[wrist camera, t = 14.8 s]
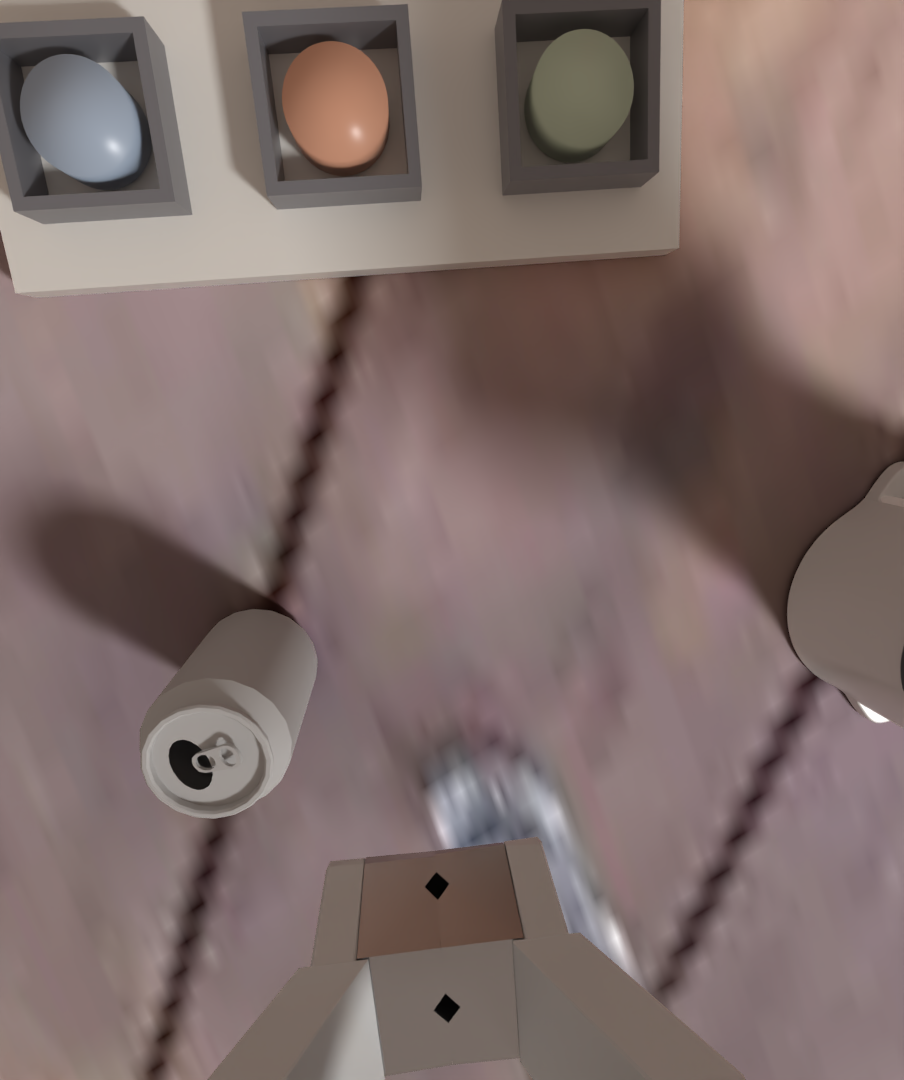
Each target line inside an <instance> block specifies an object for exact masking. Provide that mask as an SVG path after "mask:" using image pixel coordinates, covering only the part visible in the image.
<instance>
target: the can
mask: <svg viewBox="0 0 904 1080" xmlns="http://www.w3.org/2000/svg"><path fill="white" fill-rule="evenodd" d="M317 661H318V659H317V656H316V652H315V648H314V644H313V642H312V641H311V639H310V638H309V636H308V635H307V633H306V632H305V630H304V629H303V628H302V627H300V626H299V625H298V624H297V623H295V622H294V621H293V620H292V619H290V618H289V617H286V616H284V615H281V614H279V613H276V612H274V611H270V610H259V609H250V610H245V611H240V612H235V613H233V614H231V615H230V616H228V617H226V618H224V619H222V620H220V621H219V622H218V623H217V624H216V625H215V626H214V627H213V628H212V630H211V631H210V632H209V633H208V634H207V635H206V636H205V638H204V639H203V640H202V642H201V643H200V644H199V645H198V647H197V648H196V649H195V651H194V652H193V653H192V654H191V656H190V657H189V658H188V659H187V661H186V662H185V663H184V665H183V666H182V667H181V668H180V670H179V671H178V672H177V674H176V675H175V676H174V677H173V679H172V680H171V681H170V682H169V684H168V685H167V686H166V688H165V689H164V690H163V691H162V693H161V694H160V695H159V697H158V698H157V699H156V700H155V702H154V703H153V704H152V706H151V707H150V708H149V709H148V711H147V713H146V716H145V718H144V721H143V723H142V726H141V728H140V753H141V770H142V773H143V775H144V778H145V781H146V784H147V785H148V787H149V788H150V789H151V790H152V792H153V793H154V794H155V795H156V797H157V798H158V799H159V800H160V801H162V802H163V803H165V804H166V805H168V806H169V807H171V808H172V809H174V810H175V811H178V812H181V813H184V814H187V815H190V816H193V817H200V818H220V817H225V816H230V815H235V814H237V813H239V812H241V811H242V810H244V809H246V808H248V807H250V806H252V805H253V804H254V803H255V802H256V801H257V800H258V799H260V798H262V797H264V796H266V795H267V794H268V793H269V792H270V791H271V790H272V789H273V788H274V787H275V786H276V785H277V784H278V783H279V782H280V781H281V780H282V778H283V776H284V774H285V772H286V770H287V767H288V765H289V763H290V761H291V757H292V754H293V751H294V747H295V744H296V741H297V738H298V734H299V731H300V728H301V724H302V721H303V718H304V715H305V711H306V708H307V705H308V701H309V698H310V695H311V692H312V688H313V685H314V682H315V678H316V673H317Z"/></svg>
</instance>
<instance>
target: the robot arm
mask: <svg viewBox="0 0 904 1080" xmlns="http://www.w3.org/2000/svg"><path fill="white" fill-rule="evenodd" d="M787 622H788V629H789V634H790V638H791V641H792V644H793V646H794V649H795V651H796V653H797V654H798V656H799V658H800V659H801V661H802V662H803V663H804V665H805V666H806V667H807V668H808V669H809V670H810V671H811V672H812V673H813V674H815V675H816V676H817V677H819V678H820V679H822V680H823V681H825V682H827V683H829V684H831V685H833V686H835V687H837V688H838V689H840V690H841V691H842V692H843V693H845V695H846V696H847V698H848V700H849V701H850V703H851V704H852V706H853V707H854V708H855V710H856V711H857V712H858V713H859V714H860V715H861V716H863V717H865V718H867V719H868V720H870V721H872V722H874V723H884V722H888V721H891V722H893V723H895V724H897V725H898V726H900V727H902V728H904V462H897V463H894V464H892V465H891V466H889V467H888V468H887V469H886V470H885V471H884V472H883V473H882V474H881V476H880V477H879V478H878V479H877V481H876V482H875V484H874V485H873V486H872V488H871V489H870V491H869V492H868V494H867V495H866V497H865V498H864V499H863V500H862V501H861V502H860V503H859V504H858V505H857V506H855V507H854V508H853V509H852V510H850V511H849V512H847V513H846V514H845V515H843V516H842V517H840V518H839V519H838V520H836V521H835V522H834V523H833V524H832V525H830V526H829V527H828V528H827V529H826V530H825V531H824V532H823V533H822V534H821V535H820V536H819V537H818V539H817V540H816V541H815V542H814V543H813V545H812V546H811V547H810V549H809V550H808V552H807V553H806V555H805V556H804V558H803V560H802V561H801V563H800V565H799V567H798V569H797V571H796V574H795V576H794V579H793V582H792V585H791V589H790V593H789V598H788V606H787ZM515 1058H520V1062H521V1063H522V1065H523V1066H524V1068H525V1069H526V1070H527V1072H528V1073H529V1075H530V1076H531V1077H532V1079H533V1080H746V1079H745V1077H744V1075H743V1074H742V1073H741V1072H739V1071H738V1070H737V1069H736V1068H735V1067H734V1066H732V1065H731V1064H730V1063H729V1062H728V1061H727V1060H726V1059H724V1058H723V1057H722V1056H721V1055H720V1054H719V1053H718V1052H716V1051H715V1050H714V1049H713V1048H712V1047H711V1046H709V1045H708V1044H707V1043H706V1042H705V1041H704V1040H703V1039H701V1038H700V1037H699V1036H698V1035H697V1034H696V1033H695V1032H693V1031H692V1030H691V1029H690V1028H689V1027H688V1026H686V1025H685V1024H684V1023H683V1022H682V1021H681V1020H680V1019H678V1018H677V1017H676V1016H675V1015H674V1014H673V1013H672V1012H670V1011H669V1010H668V1009H667V1008H666V1007H665V1006H663V1005H662V1004H661V1003H660V1002H659V1001H658V1000H657V999H655V998H654V997H653V996H652V995H651V994H650V993H649V992H647V991H646V990H645V989H644V988H643V987H642V986H640V985H639V984H638V983H637V982H636V981H635V980H634V979H632V978H631V977H630V976H629V975H628V974H627V973H626V972H624V971H623V970H622V969H621V968H620V967H619V966H618V965H616V964H615V963H614V962H613V961H612V960H611V959H609V958H608V957H607V956H606V955H605V954H604V953H603V952H601V951H600V950H599V949H598V948H597V947H596V946H595V945H593V944H592V943H591V942H590V941H589V940H588V939H586V938H585V937H584V936H583V935H582V934H581V933H573V934H569V933H568V930H567V926H566V923H565V919H564V916H563V913H562V909H561V906H560V903H559V899H558V896H557V893H556V889H555V886H554V883H553V879H552V876H551V872H550V869H549V866H548V862H547V859H546V856H545V852H544V849H543V846H542V842H541V841H540V840H539V838H538V837H533V838H526V839H519V840H512V841H505V842H504V844H503V843H494V844H486V845H478V846H470V847H462V848H454V849H446V850H438V851H429V852H419V853H408V854H397V855H386V856H375V857H366V859H364V858H362V859H351V860H340V861H330V863H329V866H328V868H327V870H326V874H325V880H324V887H323V893H322V899H321V905H320V911H319V917H318V923H317V929H316V935H315V941H314V948H313V954H312V960H311V966H310V967H304V968H299V969H298V970H297V971H296V972H295V974H294V975H293V976H292V977H291V978H290V980H289V981H288V982H287V983H286V985H285V986H284V987H283V988H282V989H281V991H280V992H279V993H278V994H277V995H276V997H275V998H274V999H273V1000H272V1002H271V1003H270V1004H269V1005H268V1006H267V1008H266V1009H265V1010H264V1011H263V1013H262V1014H261V1015H260V1016H259V1017H258V1019H257V1020H256V1021H255V1022H254V1024H253V1025H252V1026H251V1027H250V1028H249V1030H248V1031H247V1032H246V1033H245V1035H244V1036H243V1037H242V1038H241V1039H240V1041H239V1042H238V1043H237V1044H236V1045H235V1047H234V1048H233V1049H232V1050H231V1052H230V1053H229V1054H228V1055H227V1056H226V1058H225V1059H224V1060H223V1061H222V1063H221V1064H220V1065H219V1066H218V1067H217V1069H216V1070H215V1071H214V1072H213V1074H212V1075H211V1076H210V1077H209V1078H208V1080H385V1077H384V1076H390V1075H396V1074H402V1073H408V1072H413V1071H419V1070H425V1069H431V1068H437V1067H443V1066H449V1065H456V1064H466V1063H476V1062H486V1061H495V1060H505V1059H515ZM452 1061H453V1064H452Z"/></svg>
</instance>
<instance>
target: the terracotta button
mask: <svg viewBox="0 0 904 1080" xmlns="http://www.w3.org/2000/svg"><path fill="white" fill-rule="evenodd" d="M282 106H283V111H284V115H285V119H286V122H287V124H288V126H289V128H290V131H291V133H292V135H293V137H294V139H295V141H296V144H297V146H298V147H299V149H300V151H301V152H302V154H303V155H304V156H305V158H306V159H307V160H308V161H309V162H310V163H311V164H313V165H314V166H315V167H317V168H318V169H320V170H322V171H324V172H326V173H329V174H332V175H337V176H350V175H355V174H358V173H360V172H363V171H365V170H366V169H368V168H369V167H370V166H372V165H373V164H374V163H375V162H376V161H377V159H378V158H379V157H380V155H381V154H382V152H383V150H384V148H385V146H386V143H387V140H388V135H389V107H388V96H387V91H386V87H385V83H384V81H383V78H382V76H381V74H380V72H379V70H378V69H377V67H376V66H375V64H374V63H373V62H372V61H371V60H370V58H369V57H368V56H366V55H365V54H364V53H363V52H362V51H360V50H359V49H357V48H355V47H353V46H351V45H349V44H346V43H343V42H337V41H325V42H320V43H317V44H314V45H312V46H310V47H308V48H306V49H305V50H303V51H302V52H301V53H300V54H299V55H298V56H297V57H296V58H295V59H294V60H293V62H292V63H291V65H290V67H289V69H288V71H287V73H286V76H285V79H284V83H283V89H282Z"/></svg>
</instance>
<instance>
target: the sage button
mask: <svg viewBox="0 0 904 1080" xmlns="http://www.w3.org/2000/svg"><path fill="white" fill-rule="evenodd" d="M633 94H634V79H633V73H632V69H631V66H630V63H629V60H628V58H627V56H626V54H625V53H624V51H623V50H622V48H621V47H620V46H619V45H618V44H617V43H616V42H615V41H614V40H613V39H612V38H611V37H609V36H608V35H606V34H604V33H602V32H599V31H596V30H591V29H578V30H573V31H570V32H567V33H565V34H563V35H561V36H560V37H558V38H557V39H556V40H554V41H553V42H552V43H551V44H550V45H549V46H548V47H547V49H546V50H545V51H544V53H543V54H542V56H541V58H540V60H539V62H538V64H537V67H536V69H535V71H534V74H533V76H532V79H531V81H530V84H529V86H528V89H527V92H526V96H525V103H524V114H525V121H526V126H527V129H528V132H529V134H530V136H531V138H532V140H533V141H534V143H535V144H536V145H537V147H538V148H539V149H540V150H541V151H542V152H543V153H545V154H546V155H547V156H549V157H551V158H553V159H555V160H558V161H561V162H568V163H573V162H580V161H583V160H586V159H588V158H591V157H592V156H594V155H595V154H597V153H598V152H599V151H600V150H601V149H602V148H603V147H604V146H605V145H606V144H607V143H608V142H609V140H610V139H611V138H612V137H613V136H614V134H615V133H616V132H617V131H618V130H619V129H620V127H621V126H622V124H623V123H624V121H625V119H626V118H627V116H628V113H629V111H630V108H631V104H632V100H633Z"/></svg>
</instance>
